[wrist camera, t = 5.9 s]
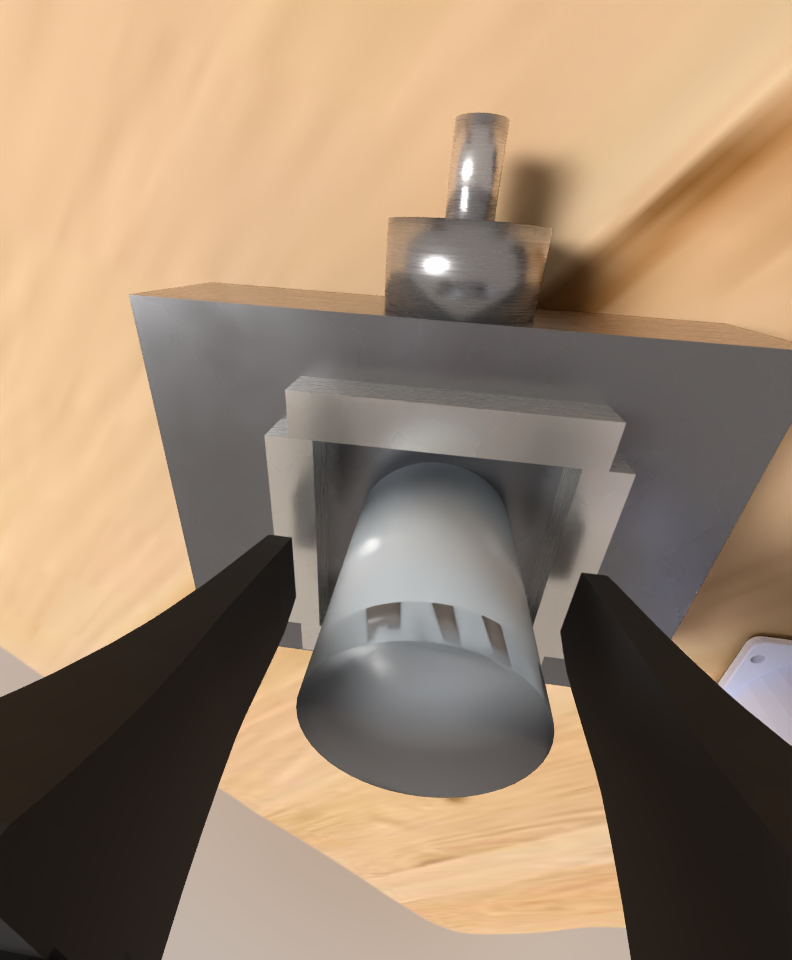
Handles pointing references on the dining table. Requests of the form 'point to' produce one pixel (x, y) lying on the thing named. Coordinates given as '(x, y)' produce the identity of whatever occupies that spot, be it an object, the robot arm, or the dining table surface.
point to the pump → (429, 645)
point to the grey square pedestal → (463, 412)
